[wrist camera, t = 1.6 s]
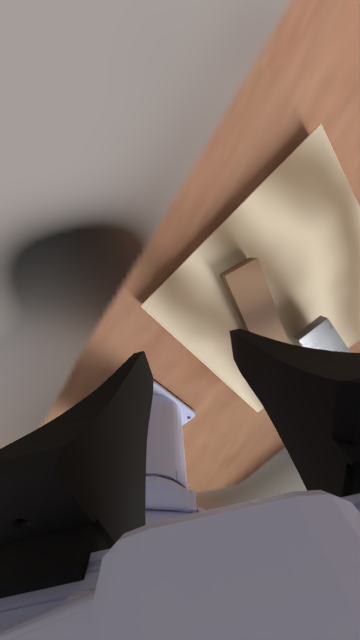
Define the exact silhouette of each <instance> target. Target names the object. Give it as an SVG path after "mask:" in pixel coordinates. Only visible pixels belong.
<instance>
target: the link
mask: <svg viewBox="0 0 360 640" xmlns="http://www.w3.org/2000/svg"><path fill="white" fill-rule="evenodd" d="M219 275H220V277H221V279H222V281H223V284H224V286H225V288H226V290H227V292H228V295H229V297H230V299H231V301H232V303H233V306H234V308H235V310H236V312H237V314H238V317H239V319H240V321H241V323H242V325H243V328H244V330H247V331H250V332H252V333H255V334H258V335H261V336H264V337H267V338H270V339H274V340H277V341H281V342H285V343H289V342H288V339H287V337H286V334H285V331H284V328H283V326H282V323H281V320H280V317H279V315H278V312H277V309H276V306H275V303H274V301H273V298H272V295H271V292H270V290H269V287H268V284H267V281H266V279H265V276H264V273H263V270H262V268H261V265H260V262H259V259H258V258H248V259H246V260H244V261H242V262H241V263H239V264H237V265H235V266H233V267H232V268H230V269H228V270H226V271H224V272H223V273H221V274H219Z"/></svg>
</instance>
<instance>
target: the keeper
mask: <svg viewBox="0 0 360 640" xmlns="http://www.w3.org/2000/svg"><path fill="white" fill-rule="evenodd" d="M293 338H294V339H295V340H296V342H297V343H298V344H299V345H300V346H303V347H308V348H314V349H321V350H329V351H338V352H349V353H351V352H350V350H349V349H348V347H347V346H346V344H345V343H344V341H343V340H342V338H341V337H340V335H339V334H338V332H337V331H336V329H335V328H334V326H333V325H332V323H331V322H330V320H329V319H328V318H326V317H323V316H321V315H320V316H319V317H318V318H316V319H315V320H314V321H313V322H311V323H310V324H309V325H307V326H306V327H305V328H304V329H302V330H301V331H300V332H298V333H297V334H296V335H295V336H293Z"/></svg>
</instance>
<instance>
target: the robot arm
mask: <svg viewBox="0 0 360 640" xmlns="http://www.w3.org/2000/svg"><path fill="white" fill-rule="evenodd" d="M230 338H231V345H232V352H233V359H234V361H235V363H236V365H237V367H238V369H239V371H240V373H241V375H242V376H243V377H244V379H245V380H246V382H247V383H248V385H249V386H250V388H251V389H252V391H253V392H254V394H255V395H256V396H257V398H258V399H259V401H260V402H261V404H262V405H263V407H264V409H265V410H266V412H267V414H268V415H269V417H270V419H271V421H272V423H273V424H274V426H275V428H276V430H277V432H278V434H279V436H280V438H281V439H282V441H283V443H284V445H285V447H286V449H287V451H288V453H289V455H290V457H291V459H292V461H293V463H294V465H295V466H296V468H297V470H298V472H299V474H300V476H301V478H302V480H303V483H304V484H305V486H306V489H307V491H296V492H288V493H284V494H279V495H275V496H271V497H266V498H261V499H257V500H253V501H248V502H243V503H239V504H235V505H230V506H225V507H221V508H216V509H213V510H207V511H204V510H203V509H202V508H197V507H196V498H195V491H193V490H188V487H187V475H186V464H185V452H184V441H183V429H182V426H183V425H184V424H186V423H187V422H188V421H190V420H191V419H192V418H193V417H195V411H193V410H192V409H191V408H190V407H188V406H187V405H186V404H184V403H183V402H182V401H180V400H179V399H178V398H177V397H175V396H174V395H173V394H171V393H170V392H169V391H167V390H166V389H165V388H164V387H162V386H161V385H160V384H158V383H157V382H156V381H154V380H153V376H152V373H151V370H150V367H149V364H148V361H147V358H146V355H145V352H144V351H142V352H138V353H134V354H133V355H132V356H131V357H130V358H129V359H128V360H127V361H126V362H125V363H124V364H123V365H122V366H121V367H120V368H119V369H118V370H117V371H116V372H115V373H114V374H113V375H112V376H111V377H109V378H108V379H107V380H106V381H105V382H104V383H103V384H102V385H101V386H100V387H98V388H97V389H96V390H95V391H94V392H92V393H91V394H90V395H88V396H87V397H86V398H85V399H83V400H82V401H80V402H79V403H78V404H76V405H75V406H73V407H72V408H70V409H69V410H67V411H66V412H65V413H63V414H62V415H60V416H58V417H57V418H55V419H54V420H52V421H50V422H49V423H47V424H45V425H44V426H42V427H40V428H38V429H37V430H35V431H33V432H31V433H30V434H28V435H26V436H24V437H22V438H20V439H18V440H16V441H14V442H13V443H11V444H9V445H7V446H5V447H3V448H1V449H0V640H360V353H349V352H338V351H329V350H321V349H314V348H308V347H303V346H298V345H293V344H289V343H285V342H281V341H277V340H274V339H270V338H267V337H264V336H261V335H258V334H255V333H252V332H250V331H247V330H243V329H235V330H231V331H230Z"/></svg>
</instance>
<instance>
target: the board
mask: <svg viewBox="0 0 360 640" xmlns="http://www.w3.org/2000/svg"><path fill="white" fill-rule="evenodd" d="M248 258H258V259H259V262H260V265H261V268H262V270H263V273H264V276H265V279H266V281H267V284H268V287H269V290H270V292H271V295H272V298H273V301H274V303H275V306H276V309H277V312H278V315H279V317H280V320H281V323H282V326H283V328H284V331H285V334H286V337H287V339H288V342H289V344H293V345H298V346H300V345H299V344H298V343H297V342H296V340H295V339H294V338H293V336H295V335H296V334H297V333H298V332H300V331H301V330H302V329H304V328H305V327H306V326H307V325H309V324H310V323H311V322H313V321H314V320H315V319H316V318H318V317H319V316H320V315H321V316H323V317H326V318H328V319H329V320H330V322H331V323H332V325H333V326H334V328H335V329H336V331H337V332H338V334H339V335H340V337H341V338H342V340H343V341H344V343H345V344H346V346H347V347H348V348H349V347H350V346H352V345H353V344H355V343H356V342H357V341H359V340H360V206H359V204H358V201H357V199H356V197H355V195H354V193H353V191H352V189H351V186H350V184H349V182H348V180H347V178H346V176H345V174H344V171H343V169H342V167H341V165H340V163H339V161H338V159H337V156H336V154H335V152H334V150H333V148H332V146H331V144H330V141H329V139H328V137H327V135H326V133H325V131H324V129H323V126H322V124H320V125H319V126H318V127H317V128H316V129H315V130H314V131H312V132H311V133H310V134H309V135H308V136H307V137H306V138H305V139H304V140H303V141H302V142H301V143H300V144H299V145H298V146H297V147H296V148H295V149H294V150H293V151H292V152H291V153H290V154H289V155H288V156H287V157H286V158H285V159H284V160H283V161H282V162H281V163H280V164H279V165H278V166H277V167H276V168H275V169H274V170H273V171H272V172H271V173H270V174H269V175H268V176H267V177H266V179H265V180H264V181H263V182H262V183H261V184H260V185H259V186H258V187H257V188H256V189H255V190H254V191H253V192H252V193H251V194H250V195H249V196H248V197H247V198H246V199H245V200H244V201H243V202H242V203H241V204H240V205H239V206H238V207H237V208H236V209H235V210H234V211H233V212H232V213H231V214H230V215H229V216H228V217H227V218H226V219H225V220H224V221H223V222H222V223H221V224H220V225H219V226H218V227H217V228H216V229H215V230H214V231H213V232H212V233H211V234H210V235H209V236H208V237H207V238H206V239H205V240H204V241H203V242H202V243H201V244H200V245H199V246H198V247H197V248H196V249H195V250H194V251H193V252H192V253H191V254H190V256H189V257H188V258H187V259H186V260H185V261H184V262H183V263H182V264H181V265H180V266H179V267H178V268H177V269H176V270H175V271H174V272H173V273H172V274H171V275H170V276H169V277H168V278H167V279H166V280H165V281H164V282H163V283H162V284H161V285H160V286H159V287H158V288H157V289H156V290H155V291H154V292H153V293H152V294H151V295H150V296H149V297H148V298H147V299H146V300H145V301H144V302H143V303H142V305H141V307H142V308H143V309H144V310H145V311H146V312H147V313H148V314H150V315H151V316H152V317H153V318H154V319H155V320H156V321H157V322H158V323H160V324H161V325H162V326H163V327H164V328H165V329H166V330H167V331H168V332H169V333H171V334H172V335H173V336H174V337H175V338H176V339H177V340H178V341H179V342H180V343H182V344H183V345H184V346H185V347H186V348H187V349H188V350H189V351H190V352H192V353H193V354H194V355H195V356H196V357H197V358H198V359H199V360H200V361H201V362H203V363H204V364H205V365H206V366H207V367H208V368H209V369H210V370H211V371H213V372H214V373H215V374H216V375H217V376H218V377H219V378H220V379H221V380H222V381H224V382H225V383H226V384H227V385H228V386H229V387H230V388H231V389H232V390H233V391H235V392H236V393H237V394H238V395H239V396H240V397H241V398H242V399H243V400H245V401H246V402H247V403H248V404H249V405H250V406H251V407H252V408H253V409H254V410H256V411H257V412H259V411H260V410H262V409H263V408H264V407H263V405H262V404H261V402H260V401H259V399H258V398H257V396H256V395H255V394H254V392H253V391H252V389H251V388H250V386H249V385H248V383H247V382H246V380H245V379H244V377H243V376H242V375H241V373H240V371H239V369H238V367H237V365H236V363H235V361H234V359H233V352H232V345H231V338H230V331H231V330H235V329H243V330H244V328H243V325H242V323H241V321H240V319H239V317H238V314H237V312H236V310H235V308H234V306H233V303H232V301H231V299H230V297H229V295H228V292H227V290H226V288H225V286H224V284H223V281H222V279H221V277H220V275H219V274H221V273H223V272H224V271H226V270H228V269H230V268H232V267H233V266H235V265H237V264H239V263H241V262H242V261H244V260H246V259H248Z"/></svg>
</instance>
